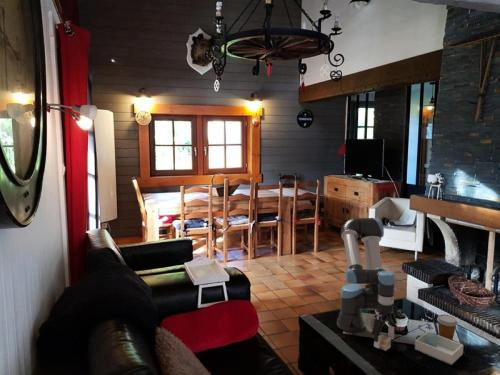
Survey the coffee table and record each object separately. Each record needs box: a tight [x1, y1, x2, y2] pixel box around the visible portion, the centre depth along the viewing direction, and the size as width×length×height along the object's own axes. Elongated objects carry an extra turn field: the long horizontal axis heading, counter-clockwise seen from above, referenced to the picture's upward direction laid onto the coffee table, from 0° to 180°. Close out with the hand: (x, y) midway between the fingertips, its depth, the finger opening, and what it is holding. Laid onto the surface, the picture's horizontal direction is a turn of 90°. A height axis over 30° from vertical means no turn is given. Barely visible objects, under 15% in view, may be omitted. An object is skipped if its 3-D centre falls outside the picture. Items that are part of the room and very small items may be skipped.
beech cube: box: [379, 334, 392, 352], centre depth 197 cm, size 5×5×5 cm
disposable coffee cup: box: [436, 314, 458, 341], centre depth 203 cm, size 10×10×12 cm
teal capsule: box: [426, 331, 438, 348], centre depth 195 cm, size 5×5×7 cm
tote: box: [414, 330, 464, 366], centre depth 193 cm, size 18×14×5 cm
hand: (384, 342), depth 197 cm, fingers open, 13 cm apart
